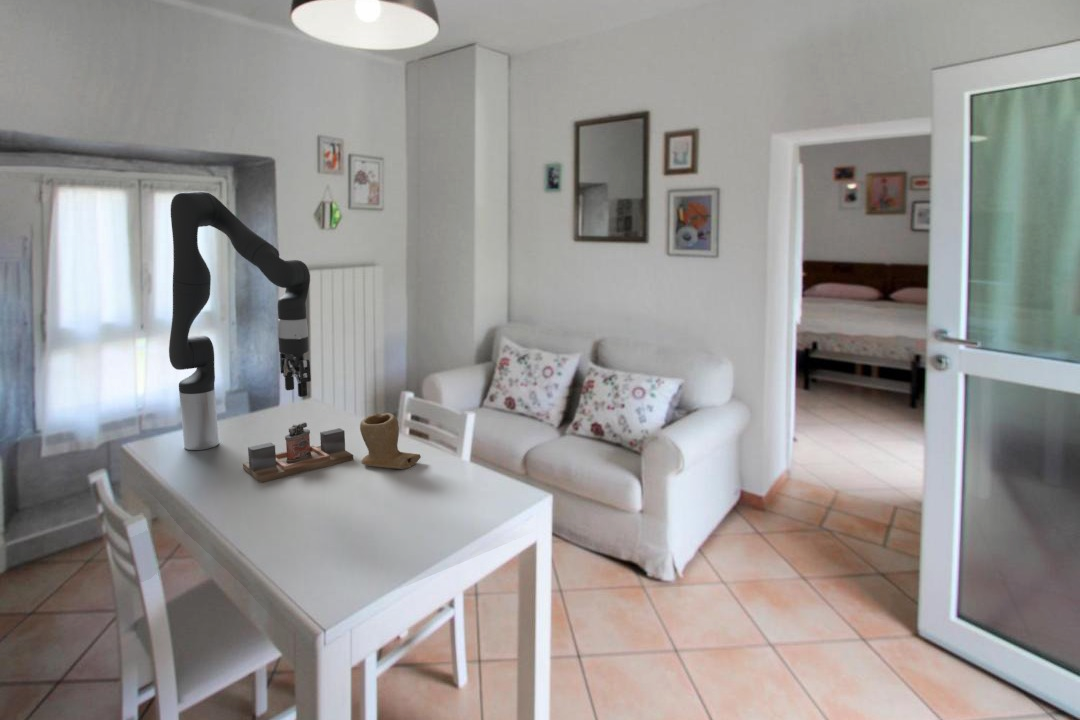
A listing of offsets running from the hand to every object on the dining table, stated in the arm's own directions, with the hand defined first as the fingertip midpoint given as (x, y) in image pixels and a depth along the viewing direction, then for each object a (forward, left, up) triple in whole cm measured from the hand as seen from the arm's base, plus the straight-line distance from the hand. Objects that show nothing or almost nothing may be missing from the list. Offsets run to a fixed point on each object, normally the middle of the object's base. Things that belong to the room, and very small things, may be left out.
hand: (296, 393), depth 171 cm
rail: (0, 0, -21) cm, 21 cm away
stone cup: (+17, +18, -21) cm, 32 cm away
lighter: (0, 0, -19) cm, 19 cm away
